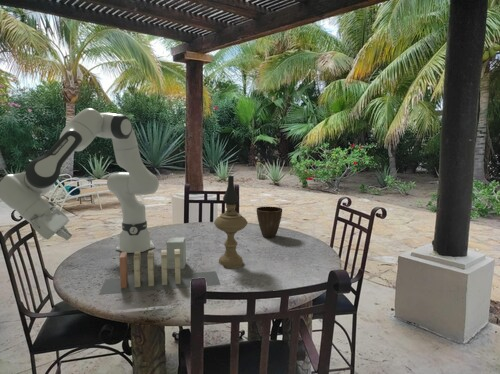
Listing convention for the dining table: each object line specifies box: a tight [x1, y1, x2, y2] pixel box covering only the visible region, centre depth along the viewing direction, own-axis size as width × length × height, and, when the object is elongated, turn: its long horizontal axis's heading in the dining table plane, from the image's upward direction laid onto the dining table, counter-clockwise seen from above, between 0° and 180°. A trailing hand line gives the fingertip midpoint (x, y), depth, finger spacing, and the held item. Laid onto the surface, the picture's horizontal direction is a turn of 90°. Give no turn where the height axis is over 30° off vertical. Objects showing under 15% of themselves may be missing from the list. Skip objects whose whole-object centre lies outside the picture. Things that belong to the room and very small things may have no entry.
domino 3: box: [147, 249, 155, 286], centre depth 140 cm, size 6×2×12 cm, turn 12°
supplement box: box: [165, 237, 187, 270], centre depth 159 cm, size 7×7×13 cm
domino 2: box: [133, 251, 142, 287], centre depth 139 cm, size 6×2×12 cm, turn 12°
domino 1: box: [118, 251, 129, 288], centre depth 138 cm, size 6×2×12 cm, turn 12°
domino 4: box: [160, 249, 168, 285], centre depth 141 cm, size 6×2×12 cm, turn 13°
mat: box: [98, 270, 221, 295], centre depth 142 cm, size 14×44×1 cm, turn 103°
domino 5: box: [174, 249, 181, 284], centre depth 142 cm, size 6×2×12 cm, turn 13°
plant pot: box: [255, 206, 283, 239], centre depth 209 cm, size 15×15×16 cm
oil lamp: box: [213, 175, 248, 269], centre depth 162 cm, size 15×15×40 cm
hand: (70, 238), depth 132 cm, fingers closed
